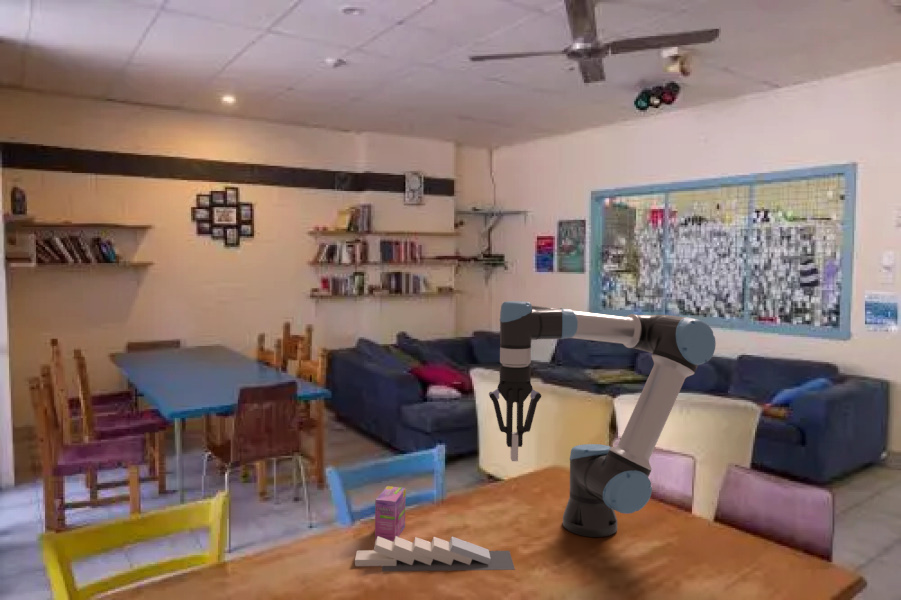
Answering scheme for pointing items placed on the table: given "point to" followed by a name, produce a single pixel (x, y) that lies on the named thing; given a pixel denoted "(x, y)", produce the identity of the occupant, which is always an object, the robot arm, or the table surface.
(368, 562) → the domino
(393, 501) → the box
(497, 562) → the mat
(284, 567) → the table surface
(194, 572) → the table surface
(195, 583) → the table surface
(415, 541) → the domino
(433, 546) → the domino
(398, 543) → the domino
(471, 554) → the domino
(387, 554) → the domino
